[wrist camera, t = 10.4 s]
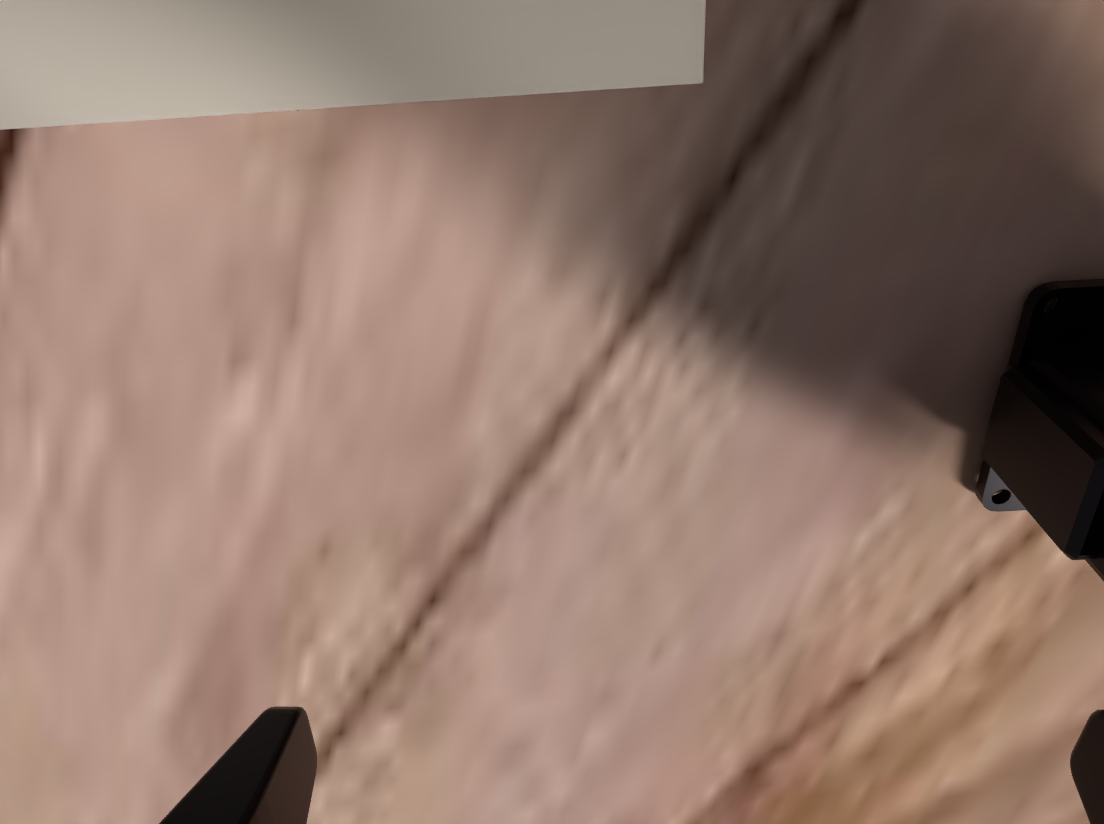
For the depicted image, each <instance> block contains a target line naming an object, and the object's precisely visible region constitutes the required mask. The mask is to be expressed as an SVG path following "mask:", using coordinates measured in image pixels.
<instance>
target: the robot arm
mask: <svg viewBox="0 0 1104 824" xmlns="http://www.w3.org/2000/svg"><path fill="white" fill-rule="evenodd" d="M1056 298H1057V302H1056V303H1055V305H1054V307H1052V308H1051V309H1050V310H1047V311H1044V308H1045V306H1046V304H1047V303H1048V302H1050V301H1051V300H1053V299H1056ZM981 454H982V457H983V458H984V459H983V463H982V467H981V471H980V474H979V478H978V482H977V486H976V496H977V498H978V499H979V500H980V502H981V503H982V504H983V506H984V507H985V508H986V509H988V510H990V511H1016V510H1027V511H1028V512H1029V513H1030V514H1031V515H1032V517H1033V518H1034V519H1035V520H1036V521H1037V523H1038V524H1039V525H1040V526H1041V527H1042V528H1043V530H1044V531H1045V532H1046V533H1047V534H1048V536H1049V537H1050V538H1051V539H1052V540H1053V541H1054V543H1055V544H1056V545H1057V546H1058V547H1059V549H1060V550H1061V551H1062V552H1063V553H1064V554H1065V555H1066V556H1067V557H1069V558H1070V559H1071V560H1084V559H1085V560H1086V561H1087V563H1088V564H1089V565H1090V566H1091V567H1092V568H1093V569H1094V571H1095V572H1096V573H1097V574H1098V575H1099V576H1100V577H1101V579H1102V580H1103V581H1104V279H1094V280H1077V281H1060V282H1049V283H1045V284H1042V285H1040V286H1038V287H1037V288H1035V289H1034V290H1033V291H1032V292H1031V293H1030V294H1029V295H1028V297H1027V299H1026V301H1025V303H1024V307H1023V311H1022V314H1021V318H1020V322H1019V326H1018V330H1017V334H1016V337H1015V341H1014V345H1013V349H1012V353H1011V356H1010V360H1009V364H1008V368H1007V369H1006V370H1005V372H1004V373H1003V374H1002V376H1001V379H1000V383H999V387H998V391H997V394H996V398H995V402H994V406H993V410H992V414H991V418H990V421H989V425H988V429H987V433H986V437H985V441H984V444H983V448H982V453H981ZM1002 489H1003V490H1002ZM998 490H1002V491H1001V492H1000V493H998V494H996V495H993V494H994V493H995V492H997V491H998ZM1070 767H1071V773H1072V776H1073V780H1074V782H1075V785H1076V787H1077V790H1078V793H1079V795H1080V798H1081V800H1082V803H1083V806H1084V808H1085V811H1086V813H1087V816H1088V819H1089V821H1090V824H1104V710H1097V711H1095V712H1094V713H1092V714H1091V716H1090V717H1089V719H1088V721H1087V723H1086V725H1085V727H1084V729H1083V731H1082V733H1081V735H1080V737H1079V739H1078V741H1077V743H1076V745H1075V747H1074V749H1073V751H1072V753H1071V759H1070ZM316 769H317V752H316V747H315V743H314V739H313V735H312V732H311V728H310V724H309V720H308V716H307V713H306V711H305V710H304V709H303V708H302V707H271V708H268V709H267V710H265V711H264V712H263V713H262V714H261V715H260V716H259V717H258V718H257V719H256V720H255V721H254V722H253V723H252V724H251V725H250V727H249V728H248V729H247V730H246V731H245V732H244V733H243V734H242V735H241V736H240V737H239V738H238V739H237V740H236V742H235V743H234V744H233V745H232V746H231V747H230V748H229V749H228V750H227V751H226V752H225V753H224V754H223V756H222V757H221V758H220V759H219V760H218V761H217V762H216V763H215V764H214V765H213V766H212V767H211V768H210V769H209V771H208V772H207V773H206V774H205V775H204V776H203V777H202V778H201V779H200V780H199V781H198V782H197V783H196V784H195V786H194V787H193V788H192V789H191V790H190V791H189V792H188V793H187V794H186V795H185V796H184V797H183V798H182V800H181V801H180V802H179V803H178V804H177V805H176V806H175V807H174V808H173V809H172V810H171V811H170V812H169V813H168V815H167V816H166V817H165V818H164V819H163V820H162V821H161V822H160V823H159V824H306V823H307V818H308V812H309V807H310V802H311V797H312V791H313V786H314V781H315V776H316Z"/></svg>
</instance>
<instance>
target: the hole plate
mask: <svg viewBox="0 0 1104 824" xmlns="http://www.w3.org/2000/svg"><path fill="white" fill-rule="evenodd" d="M705 10H706V0H0V130H3V129H18V128H33V127H48V126H63V125H78V124H93V123H108V122H124V121H139V120H154V119H169V118H184V117H199V116H214V115H229V114H244V113H259V112H275V111H290V110H305V109H320V108H335V107H350V106H365V105H380V104H395V103H410V102H426V101H441V100H456V99H471V98H486V97H501V96H516V95H531V94H546V93H562V92H577V91H592V90H607V89H622V88H637V87H652V86H667V85H682V84H698V83H703V69H704V40H705Z"/></svg>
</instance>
